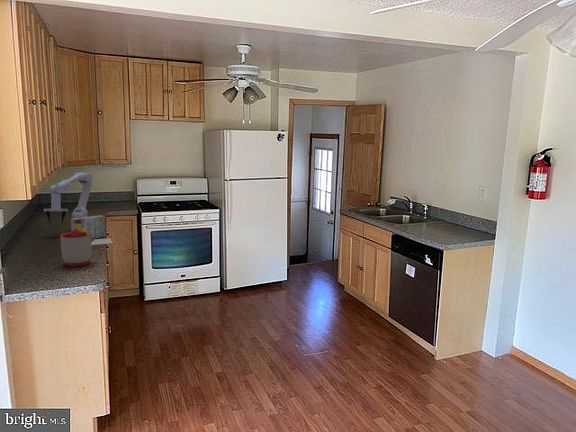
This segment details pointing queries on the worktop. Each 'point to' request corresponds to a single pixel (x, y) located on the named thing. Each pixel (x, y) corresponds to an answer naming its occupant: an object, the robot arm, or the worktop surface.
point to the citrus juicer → (76, 248)
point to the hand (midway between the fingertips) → (55, 222)
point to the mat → (101, 241)
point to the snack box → (90, 225)
